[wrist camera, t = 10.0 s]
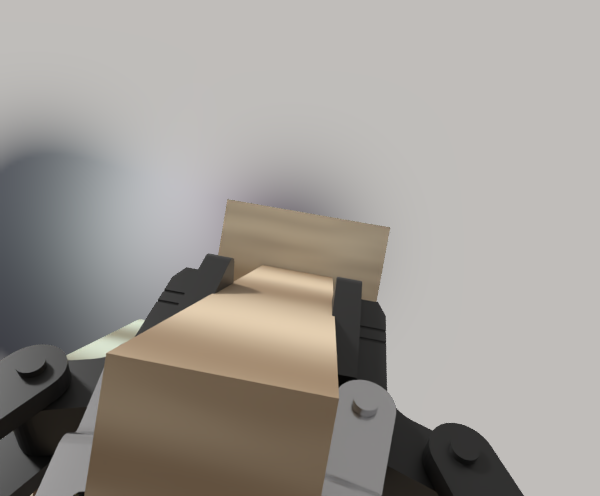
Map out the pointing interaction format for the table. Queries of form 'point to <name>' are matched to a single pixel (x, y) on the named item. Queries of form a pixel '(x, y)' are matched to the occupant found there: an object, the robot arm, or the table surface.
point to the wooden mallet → (238, 368)
